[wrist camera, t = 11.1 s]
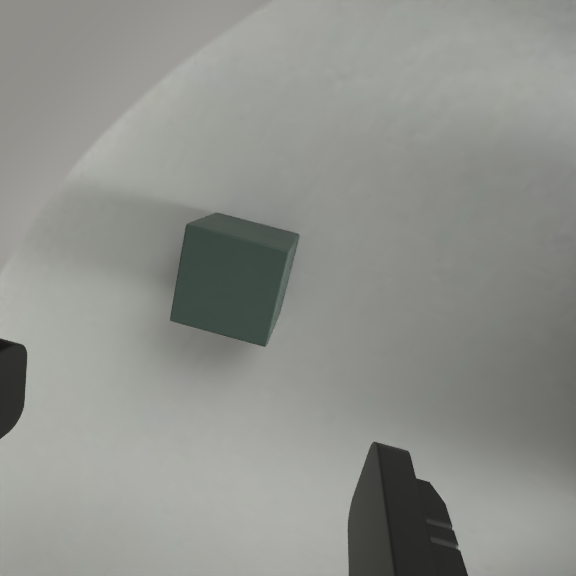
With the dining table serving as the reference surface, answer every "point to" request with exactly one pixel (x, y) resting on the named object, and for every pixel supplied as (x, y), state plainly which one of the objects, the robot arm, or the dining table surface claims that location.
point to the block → (233, 277)
